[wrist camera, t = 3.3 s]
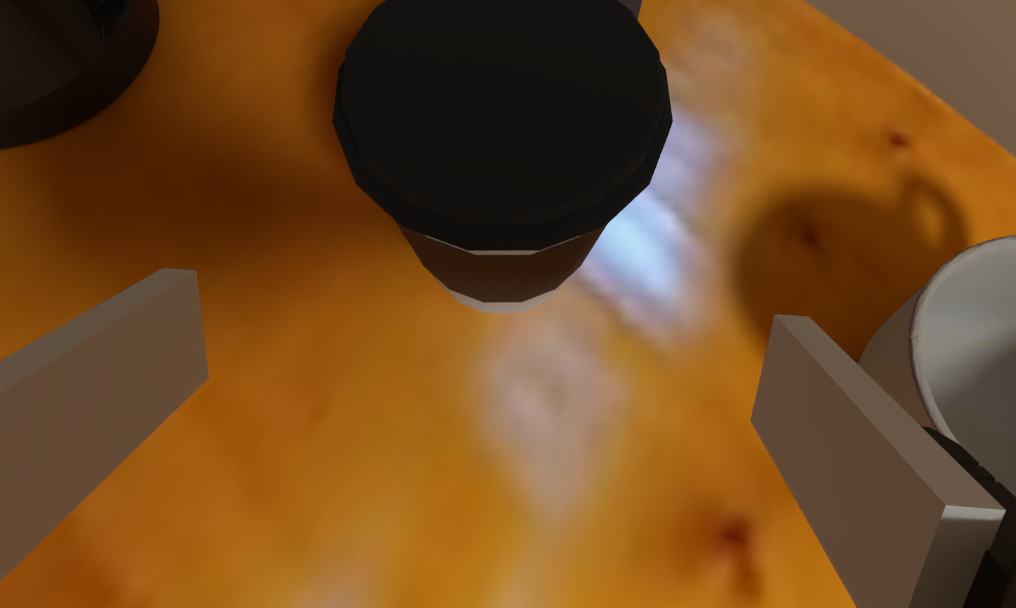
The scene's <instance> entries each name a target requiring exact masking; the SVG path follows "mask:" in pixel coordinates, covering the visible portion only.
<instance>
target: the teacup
mask: <svg viewBox="0 0 1016 608" xmlns="http://www.w3.org/2000/svg"><path fill="white" fill-rule="evenodd" d="M858 365H859V366H860V367H861V368H862V369H863V370H864V371H865V372H866V373H867V374H868V375H869V376H870V377H871V378H872V379H873V380H874V381H875V382H876V383H877V384H878V385H879V386H880V387H881V388H882V389H883V390H884V391H885V392H886V393H887V394H888V395H889V396H890V397H891V398H892V399H893V400H894V401H895V402H896V403H897V404H898V405H899V406H900V407H902V408H903V409H904V410H905V411H906V412H907V413H908V414H909V415H910V416H911V417H912V418H913V419H914V420H915V421H916V422H917V423H918V424H919V425H920V426H923V427H931V428H933V429H934V430H936V431H938V432H939V433H941V434H943V435H945V436H946V437H948V438H950V439H951V440H953V441H955V442H956V443H958V444H959V445H961V446H962V447H963V448H964V449H965V450H966V451H967V452H968V453H969V454H970V455H971V456H972V457H973V458H974V459H976V460H977V461H978V462H979V466H983V467H984V468H985V469H986V470H987V471H988V472H989V473H991V474H992V475H993V476H994V477H995V481H996V482H1000V483H1001V484H1002V485H1003V486H1004V487H1005V488H1007V489H1008V490H1009V491H1010V492H1011V493H1012V494H1013V495H1014V496H1015V497H1016V235H1012V236H1006V237H1000V238H996V239H992V240H988V241H985V242H982V243H979V244H976V245H974V246H972V247H969V248H967V249H965V250H963V251H962V252H960V253H958V254H957V255H955V256H954V257H953V258H952V259H950V260H949V261H947V262H945V263H944V264H943V265H942V266H941V267H940V268H939V269H937V270H936V271H935V273H934V274H933V275H932V276H931V277H930V278H929V279H928V281H927V282H926V284H925V285H924V286H923V287H922V288H921V289H919V290H918V291H917V292H916V293H915V294H914V295H912V296H911V297H910V298H909V299H908V300H907V301H906V302H905V303H904V304H903V305H902V306H900V307H899V308H898V309H897V310H896V311H895V312H894V313H893V314H892V315H891V316H890V317H889V318H888V319H887V320H886V321H885V322H884V323H883V324H882V325H881V327H880V328H879V329H878V330H877V331H876V332H875V334H874V335H873V336H872V338H871V339H870V341H869V342H868V344H867V345H866V347H865V349H864V351H863V353H862V355H861V357H860V360H859V362H858Z"/></svg>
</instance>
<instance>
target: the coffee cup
mask: <svg viewBox="0 0 1016 608" xmlns="http://www.w3.org/2000/svg"><path fill="white" fill-rule="evenodd" d="M332 121H333V124H334V128H335V131H336V133H337V136H338V139H339V141H340V144H341V146H342V149H343V151H344V154H345V156H346V159H347V161H348V164H349V167H350V169H351V172H352V174H353V177H354V179H355V182H356V184H357V185H358V186H359V187H360V188H361V189H362V190H363V191H364V192H365V193H366V194H367V195H368V196H370V197H371V198H372V199H373V200H374V201H375V202H376V203H377V204H378V205H379V206H380V207H382V208H383V209H384V210H385V211H386V212H387V213H388V214H389V215H390V216H391V217H392V218H394V219H395V220H396V222H397V224H398V225H399V227H400V229H401V230H402V232H403V233H404V235H405V237H406V238H407V240H408V241H409V243H410V245H411V246H412V248H413V249H414V251H415V253H416V254H417V256H418V257H419V259H420V261H421V262H422V264H423V266H424V267H425V268H427V269H428V270H429V271H430V272H431V273H432V274H433V275H434V276H435V277H436V279H437V280H438V282H439V284H440V285H441V286H442V287H443V288H444V289H445V290H447V291H448V292H449V293H450V294H451V295H452V296H453V297H454V298H455V299H456V300H457V301H458V302H459V303H461V304H464V305H466V306H469V307H472V308H474V309H477V310H480V311H482V312H485V313H520V312H522V311H525V310H527V309H530V308H532V307H535V306H538V305H540V304H543V303H545V302H546V301H547V300H548V299H549V298H550V297H551V296H552V295H553V294H554V293H555V292H556V291H557V290H559V289H560V288H561V287H562V286H563V285H564V284H565V282H566V281H567V279H568V277H569V276H570V275H571V274H572V273H574V272H575V271H576V270H577V269H578V268H579V267H580V266H581V265H582V263H583V261H584V260H585V258H586V257H587V255H588V254H589V252H590V251H591V249H592V247H593V246H594V244H595V243H596V241H597V240H598V238H599V236H600V235H601V233H602V232H603V230H604V229H605V227H606V225H607V224H608V223H609V222H610V221H611V220H612V219H613V218H614V217H615V216H616V215H617V214H618V213H619V212H620V211H622V210H623V209H624V208H625V207H626V206H627V205H628V204H629V203H630V202H631V201H632V200H633V199H634V198H635V197H637V196H638V195H639V194H640V193H641V192H642V191H643V190H644V189H645V188H646V187H647V186H648V185H649V184H650V181H651V179H652V176H653V174H654V171H655V168H656V166H657V163H658V160H659V158H660V155H661V152H662V150H663V147H664V144H665V142H666V139H667V136H668V134H669V131H670V128H671V125H672V122H673V120H672V112H671V105H670V98H669V90H668V83H667V76H666V69H665V68H664V66H663V65H662V63H661V62H660V55H659V51H658V50H657V48H656V47H655V45H654V44H653V42H652V41H651V39H650V38H649V36H648V35H647V33H646V32H645V30H644V29H643V28H642V26H641V25H640V23H639V22H638V20H637V19H636V17H635V16H634V14H633V13H632V11H631V10H630V9H629V8H627V7H626V6H624V5H623V4H621V3H620V2H618V1H617V0H387V1H385V2H384V3H382V4H381V5H379V6H378V7H376V8H375V9H374V10H373V11H372V13H371V14H370V16H369V17H368V19H367V20H366V22H365V23H364V25H363V26H362V28H361V29H360V31H359V32H358V34H357V35H356V37H355V38H354V40H353V41H352V43H351V44H350V46H349V47H348V49H347V50H346V54H345V60H344V62H343V63H342V65H341V66H340V68H339V72H338V80H337V88H336V96H335V104H334V112H333V120H332Z"/></svg>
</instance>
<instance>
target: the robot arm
mask: <svg viewBox="0 0 1016 608" xmlns="http://www.w3.org/2000/svg"><path fill="white" fill-rule="evenodd" d="M158 23H159V13H158V5H157V1H156V0H0V149H4V148H10V147H15V146H20V145H24V144H28V143H32V142H35V141H38V140H41V139H44V138H47V137H50V136H52V135H55V134H57V133H60V132H62V131H64V130H66V129H69V128H71V127H73V126H74V125H76V124H78V123H80V122H82V121H84V120H85V119H87V118H89V117H90V116H92V115H93V114H95V113H96V112H98V111H99V110H101V109H102V108H103V107H105V106H106V105H107V104H109V103H110V102H111V101H112V100H113V99H115V98H116V97H117V96H118V95H119V94H120V93H121V92H122V91H123V90H124V89H125V88H126V87H127V86H128V85H129V84H130V83H131V82H132V81H133V79H134V78H135V77H136V76H137V74H138V73H139V72H140V70H141V69H142V67H143V66H144V64H145V62H146V61H147V59H148V57H149V55H150V53H151V51H152V48H153V46H154V43H155V39H156V36H157V31H158ZM208 378H209V376H208V367H207V358H206V350H205V341H204V332H203V324H202V315H201V306H200V297H199V289H198V280H197V271H196V270H185V269H172V268H162V269H160V270H159V271H157V272H155V273H153V274H152V275H150V276H148V277H146V278H145V279H143V280H141V281H139V282H138V283H136V284H134V285H132V286H130V287H129V288H127V289H125V290H123V291H122V292H120V293H118V294H116V295H115V296H113V297H111V298H109V299H108V300H106V301H104V302H102V303H101V304H99V305H97V306H95V307H94V308H92V309H90V310H88V311H86V312H85V313H83V314H81V315H79V316H78V317H76V318H74V319H72V320H71V321H69V322H67V323H65V324H64V325H62V326H60V327H58V328H57V329H55V330H53V331H51V332H49V333H48V334H46V335H44V336H42V337H41V338H39V339H37V340H35V341H34V342H32V343H30V344H28V345H27V346H25V347H23V348H21V349H20V350H18V351H16V352H14V353H12V354H11V355H9V356H7V357H5V358H4V359H2V360H0V581H1V580H2V579H3V578H4V577H5V576H6V575H7V574H8V573H9V572H10V571H11V570H12V569H13V568H14V567H15V566H17V565H18V564H19V563H20V562H21V561H22V560H23V559H24V558H25V557H26V556H27V555H28V554H29V553H30V552H31V551H32V550H33V549H34V548H35V547H36V546H37V545H38V544H39V543H40V542H41V541H42V540H43V539H44V538H45V537H46V536H47V535H48V534H49V533H50V532H51V531H52V530H53V529H54V528H55V527H56V526H57V525H59V524H60V523H61V522H62V521H63V520H64V519H65V518H66V517H67V516H68V515H69V514H70V513H71V512H72V511H73V510H74V509H75V508H76V507H77V506H78V505H79V504H80V503H81V502H82V501H83V500H84V499H85V498H86V497H87V496H88V495H89V494H90V493H91V492H92V491H93V490H94V489H95V488H96V487H97V486H98V485H99V484H101V483H102V482H103V481H104V480H105V479H106V478H107V477H108V476H109V475H110V474H111V473H112V472H113V471H114V470H115V469H116V468H117V467H118V466H119V465H120V464H121V463H122V462H123V461H124V460H125V459H126V458H127V457H128V456H129V455H130V454H131V453H132V452H133V451H134V450H135V449H136V448H137V447H138V446H139V445H140V444H141V443H143V442H144V441H145V440H146V439H147V438H148V437H149V436H150V435H151V434H152V433H153V432H154V431H155V430H156V429H157V428H158V427H159V426H160V425H161V424H162V423H163V422H164V421H165V420H166V419H167V418H168V417H169V416H170V415H171V414H172V413H173V412H174V411H175V410H176V409H177V408H178V407H179V406H180V405H181V404H182V403H183V402H184V401H186V400H187V399H188V398H189V397H190V396H191V395H192V394H193V393H194V392H195V391H196V390H197V389H198V388H199V387H200V386H201V385H202V384H203V383H204V382H205V381H206V380H207V379H208ZM750 421H751V423H752V424H753V426H754V428H755V430H756V431H757V433H758V435H759V437H760V438H761V440H762V442H763V444H764V445H765V447H766V449H767V451H768V452H769V454H770V456H771V458H772V459H773V461H774V463H775V465H776V466H777V468H778V470H779V472H780V473H781V475H782V477H783V479H784V481H785V482H786V484H787V486H788V488H789V489H790V491H791V493H792V495H793V496H794V498H795V500H796V502H797V503H798V505H799V507H800V509H801V510H802V512H803V514H804V516H805V517H806V519H807V521H808V523H809V524H810V526H811V528H812V530H813V531H814V533H815V535H816V537H817V538H818V540H819V542H820V544H821V545H822V547H823V549H824V551H825V552H826V554H827V556H828V558H829V560H830V561H831V563H832V565H833V567H834V568H835V570H836V572H837V574H838V575H839V577H840V579H841V581H842V582H843V584H844V586H845V588H846V589H847V591H848V593H849V595H850V596H851V598H852V600H853V602H854V603H855V605H856V607H857V608H1016V497H1015V496H1014V495H1013V494H1012V493H1011V492H1010V491H1009V490H1008V489H1007V488H1005V487H1004V486H1003V485H1002V484H1001V483H1000V482H996V481H995V477H994V476H993V475H992V474H991V473H989V472H988V471H987V470H986V469H985V468H984V467H983V466H979V462H978V461H977V460H976V459H974V458H973V457H972V456H971V455H970V454H969V453H968V452H967V451H966V450H965V449H964V448H963V447H962V446H961V445H959V444H958V443H956V442H955V441H953V440H951V439H950V438H948V437H946V436H945V435H943V434H941V433H939V432H938V431H936V430H934V429H933V428H931V427H923V426H920V425H919V424H918V423H917V422H916V421H915V420H914V419H913V418H912V417H911V416H910V415H909V414H908V413H907V412H906V411H905V410H904V409H903V408H902V407H900V406H899V405H898V404H897V403H896V402H895V401H894V400H893V399H892V398H891V397H890V396H889V395H888V394H887V393H886V392H885V391H884V390H883V389H882V388H881V387H880V386H879V385H878V384H877V383H876V382H875V381H874V380H873V379H872V378H871V377H870V376H869V375H868V374H867V373H866V372H865V371H864V370H863V369H862V368H861V367H860V366H859V365H858V364H857V363H856V362H855V361H854V360H853V359H852V358H851V357H850V356H849V355H848V354H847V353H846V352H845V351H844V350H842V349H841V348H840V347H839V346H838V345H837V344H836V343H835V342H834V341H833V340H832V339H831V338H830V337H829V336H828V335H827V334H826V333H825V332H824V331H823V330H822V329H821V328H820V327H819V326H818V325H817V324H816V323H815V322H814V321H813V320H812V319H811V318H810V317H808V316H794V315H781V314H775V315H774V319H773V323H772V328H771V332H770V337H769V341H768V345H767V350H766V354H765V359H764V363H763V367H762V372H761V376H760V381H759V385H758V389H757V394H756V398H755V403H754V407H753V411H752V416H751V420H750Z"/></svg>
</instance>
